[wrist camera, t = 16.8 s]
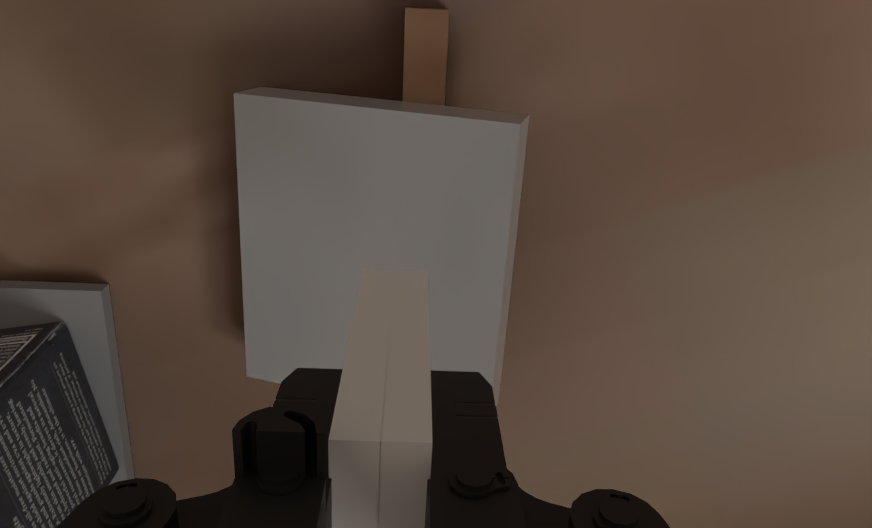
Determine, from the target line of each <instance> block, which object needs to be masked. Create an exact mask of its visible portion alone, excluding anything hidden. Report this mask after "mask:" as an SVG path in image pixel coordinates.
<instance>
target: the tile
mask: <svg viewBox="0 0 872 528" xmlns="http://www.w3.org/2000/svg"><path fill="white" fill-rule="evenodd" d="M234 115H235V137H236V159H237V180H238V202H239V224H240V246H241V267H242V289H243V311H244V333H245V354H246V376H247V377H251V378H256V379H260V380H265V381H270V382H275V383H279V384H281V382H282V381H283V380H284V379H285V378H286V377H287V376H288V375H290V374H291V373H292V372H293V371H294V370H295V369H296V368H322V369H343V365H344V360H345V356H346V351H347V346H348V341H349V336H350V331H351V326H352V321H353V316H354V311H355V306H356V301H357V296H358V292H359V287H360V282H361V277H362V272H363V269H385V270H410V271H428V287H429V327H430V366H431V370H434V371H463V372H479V373H480V374H481V375H482V376H483V377H484V378H485V379H486V380H487V381H488V382H489V384H490V385H491V386H492V388H493V394H494V400H495V406H496V407H497V404H498V401H499V395H500V386H501V377H502V367H503V358H504V349H505V339H506V330H507V321H508V311H509V302H510V293H511V284H512V274H513V265H514V256H515V246H516V237H517V228H518V218H519V209H520V200H521V190H522V181H523V172H524V162H525V153H526V144H527V135H528V125H529V116H530V115H529V114H519V113H510V112H500V111H491V110H481V109H471V108H462V107H452V106H443V105H433V104H424V103H414V102H404V101H395V100H385V99H376V98H366V97H357V96H347V95H338V94H328V93H318V92H309V91H299V90H290V89H280V88H271V87H258V88H254V89H249V90H245V91H241V92H236V93H234Z"/></svg>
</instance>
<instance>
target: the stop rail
mask: <svg viewBox="0 0 872 528" xmlns="http://www.w3.org/2000/svg"><path fill="white" fill-rule="evenodd" d="M448 29H449V9H443V8H422V7H405V32H404V68H403V101H404V102H414V103H424V104H433V105H443V106H445V89H446V69H447V49H448Z"/></svg>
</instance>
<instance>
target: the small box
mask: <svg viewBox="0 0 872 528" xmlns="http://www.w3.org/2000/svg"><path fill="white" fill-rule="evenodd" d="M118 470H119V466H118V462H117V459H116V456H115V453H114V450H113V448H112V445H111V442H110V440H109V437H108V434H107V431H106V429H105V426H104V423H103V421H102V418H101V415H100V412H99V409H98V407H97V404H96V401H95V399H94V396H93V393H92V391H91V389H90V386H89V383H88V380H87V378H86V375H85V372H84V370H83V367H82V365H81V362H80V358H79V356H78V353H77V351H76V348H75V345H74V343H73V340H72V338H71V335H70V332H69V330H68V328H67V326H66V325H65V324H64V323H62V322H52V323H46V324H39V325H30V326H20V327H13V328H7V329H0V528H56V527H57V526H58V525H59V524H60V523H61V522H62V521H63V520H64V519H65V518H66V517H67V516H68V515H69V514H70V513H71V512H72V511H73V510H74V509H75V508H76V507H77V506H78V505H79V504H80V503H81V502H82V501H83V500H85V499H86V498H87V497H89V496H90V495H92V494H93V493H94V492H96V491H97V490H98V489H101V488H103V487H106V486H108V485H109V484H110V483H111V481H112V480H113V478H114V477H115V475H116V473H117V472H118Z"/></svg>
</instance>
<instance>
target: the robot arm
mask: <svg viewBox="0 0 872 528" xmlns="http://www.w3.org/2000/svg"><path fill="white" fill-rule="evenodd" d="M232 435H233V451H234V466H235V479H234V482H233V485H231V486H229V487H227V488H225V489H223V490H220V491H218V492H215V493H211V494H208V495H204V496H199V497H194V498H189V499H184V500H179V501H176V493H175V492H174V491H173V490H172V489H171V488H170V487H169V485H167V484H165V483H162V482H160V481H157V480H155V479H141V478H135V479H129V480H124V481H119V482H115V483H113V484H110V485H108V486H106V487H103V488H101V489H98V490H97V491H96V492H94V493H93V494H92V495H90V496H89V497H87V498H86V499H85V500H83V501H82V502H81V503H80V504H79V505H78V506H77V507H76V508H75V509H74V510H73V511H72V512H71V513H70V514H69V515H68V516H67V517H66V518H65V519H64V520H63V521H62V522H61V523H60V524H59V525H58V526H57V527H56V528H670V527H669V526H668V524H667V523H666V522H665V521H664V519H663V518H662V517H661V515H660V514H659V513H658V512H657V511H656V510H655V509H654V508H652V507H651V506H650V505H649V504H648V503H647V502H645V501H643V500H641V499H639V498H638V497H636V496H634V495H632V494H629V493H625V492H621V491H617V490H613V489H596V490H592V491H589V492H586V493H583V494H581V495H580V496H579V497H578V498H577V499H576V500H575V501H574V502H573V503H572V507H571V508H567V507H563V506H559V505H555V504H551V503H548V502H545V501H542V500H540V499H537V498H535V497H533V496H531V495H529V494H528V493H526V492H524V491H523V490H522V489H521V488H519V487H518V484H517V482H516V480H515V478H514V476H513V474H512V473H511V472H510V471H509V470H508V469H507V467H506V462H505V456H504V450H503V445H502V439H501V433H500V428H499V422H498V419H497V411H496V406H495V400H494V394H493V388H492V386H491V385H490V384H489V382H488V381H487V380H486V379H485V378H484V377H483V376H482V375H481V374H480V373H479V372H463V371H434V370H431V366H430V327H429V287H428V271H410V270H385V269H363V272H362V277H361V282H360V287H359V292H358V296H357V301H356V306H355V311H354V316H353V321H352V326H351V331H350V336H349V341H348V346H347V351H346V356H345V360H344V365H343V369H322V368H296V369H295V370H294V371H293V372H292V373H291V374H290V375H288V376H287V377H286V378H285V379H284V380H283V381H282V382H281V385H280V388H279V391H278V393H277V396H276V401H275V402H274V405H273V407H268V408H265V409H261V410H258V411H255V412H252V413H250V414H249V415H247V416H246V417H244V418H242V419H241V420H239V422H238V423H237V424H236V426H235V427H234V428H233V430H232Z"/></svg>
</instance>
